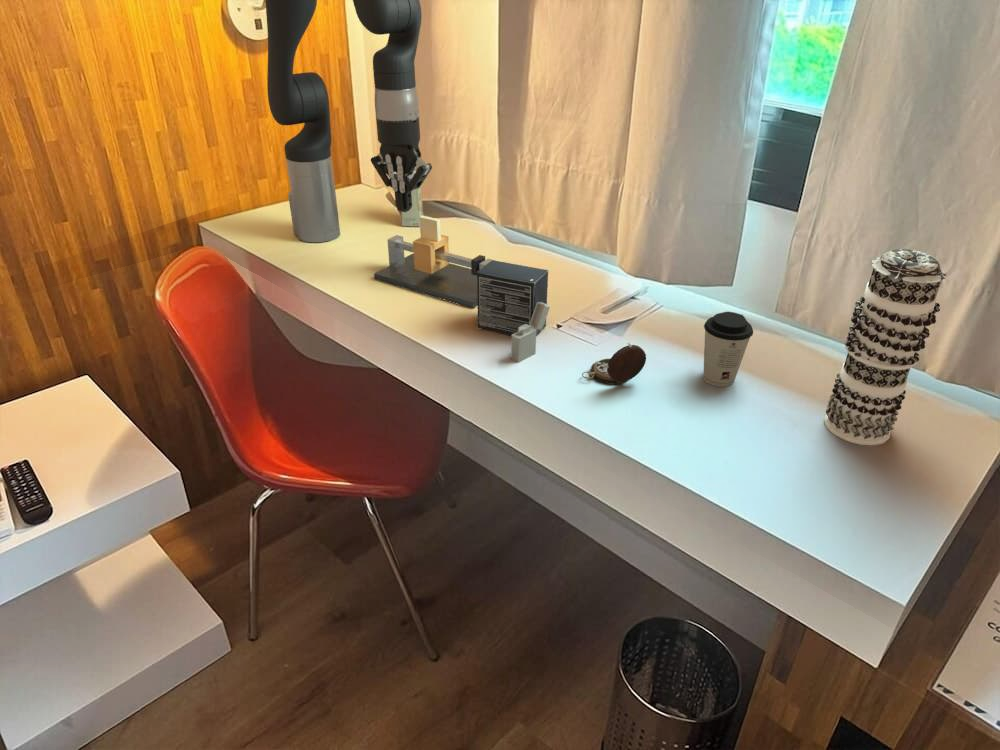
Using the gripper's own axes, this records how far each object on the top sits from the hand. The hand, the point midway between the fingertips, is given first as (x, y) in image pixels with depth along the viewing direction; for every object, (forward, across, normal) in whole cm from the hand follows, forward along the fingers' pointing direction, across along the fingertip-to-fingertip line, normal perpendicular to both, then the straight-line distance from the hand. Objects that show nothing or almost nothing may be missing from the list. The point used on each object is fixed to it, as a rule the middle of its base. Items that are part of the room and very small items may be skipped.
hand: (404, 210), depth 135 cm
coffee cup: (+14, +64, -5) cm, 65 cm away
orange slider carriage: (+10, +6, 0) cm, 12 cm away
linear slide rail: (+13, +8, 0) cm, 15 cm away
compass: (+14, +50, -14) cm, 53 cm away
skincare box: (+13, -17, +23) cm, 32 cm away
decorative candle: (+14, +84, -7) cm, 85 cm away
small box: (+13, +29, -8) cm, 33 cm away
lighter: (+13, +36, -14) cm, 41 cm away
